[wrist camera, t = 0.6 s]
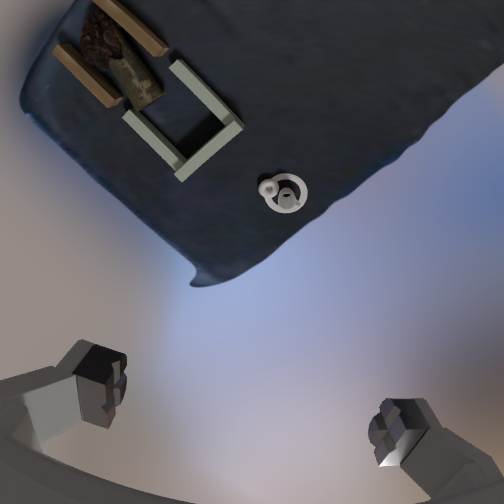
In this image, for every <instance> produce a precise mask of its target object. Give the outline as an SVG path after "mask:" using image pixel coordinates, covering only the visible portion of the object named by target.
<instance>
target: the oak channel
mask: <svg viewBox="0 0 504 504" xmlns="http://www.w3.org/2000/svg"><path fill="white" fill-rule="evenodd" d="M92 1H93V2H94V3H96V4H97V5H98V6H99V7H100V8H101V9H102V10H104V11H105V12H106V13H107V14H108V15H109V16H110V17H112V18H113V19H114V20H115V21H116V22H117V23H118V24H119V25H120V26H122V27H123V28H124V29H125V30H126V31H127V32H128V33H129V34H130V35H131V36H133V37H134V38H135V39H136V40H137V41H138V42H139V43H140V44H141V45H142V46H143V47H144V48H145V49H146V50H147V51H149V52H150V53H151V54H152V55H153V56H163V55H164V54H165V53H166V52H167V51H168V50H169V49H170V48H169V47H168V46H167V45H166V44H165V43H164V42H163V41H162V40H160V39H159V38H158V37H157V36H156V35H155V34H154V33H153V32H152V31H151V30H150V29H149V28H148V27H146V26H145V25H144V24H143V23H142V22H141V21H140V20H139V19H138V18H136V17H135V16H134V15H133V14H132V13H131V12H130V11H128V10H127V9H126V8H125V7H124V6H123V5H122V4H120V3H119V2H118V1H117V0H92ZM52 54H53V55H54V56H55V57H56V58H57V59H58V60H59V61H60V62H61V63H62V64H63V65H64V66H65V67H66V68H67V69H68V70H70V71H71V72H72V73H73V74H74V75H75V76H76V77H77V78H78V79H79V80H80V81H81V82H82V83H83V84H84V85H85V86H86V87H87V88H88V89H89V90H90V91H91V92H92V93H93V94H94V95H95V96H96V97H97V98H98V99H99V100H100V101H101V102H102V103H103V104H104V105H105V106H106V107H107V108H109V107H112V106H115V105H117V104H118V103H119V102H120V101H121V99H122V98H123V97H124V96H123V95H122V94H121V93H120V92H119V91H118V90H117V89H116V88H115V87H114V86H113V85H112V84H111V83H110V82H109V81H107V80H106V79H105V78H104V77H103V76H102V75H101V74H100V73H99V72H98V71H97V70H96V69H95V68H94V67H93V66H92V65H91V64H90V63H88V62H87V61H85V60H84V57H83V56H82V55H81V54H80V53H79V52H78V51H77V50H76V49H75V48H73V47H72V46H71V45H70V44H57V46H56V47H55V49H54V50H53V52H52Z"/></svg>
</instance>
